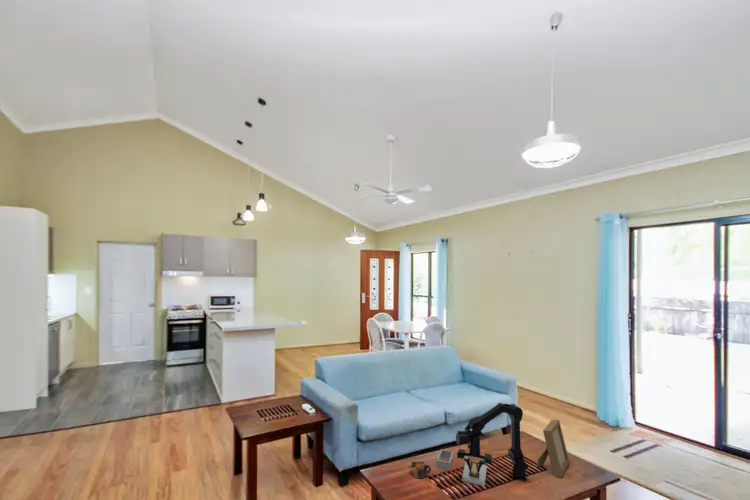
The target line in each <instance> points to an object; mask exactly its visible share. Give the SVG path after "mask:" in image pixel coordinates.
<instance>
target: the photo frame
mask: <svg viewBox="0 0 750 500" xmlns="http://www.w3.org/2000/svg"><path fill="white" fill-rule="evenodd" d="M542 432H543V437H544V440H545V445H546V447H545V449H544V450H543V452H542V453H541V455H540V456H539V457H538V459H537V462H536V467H537V468H540V467H543V466H544V465H545V462H546V461H547V459H548V457H549V462H550V465H551V469H552V473H553V477H557V478H558V477H559V478H563V475H564V474H565V472H566V471H567V468H568V466H569V465H570V459H569V454H568V450H567V447H566V443H565V439H564V434H563V429H562V427H561V422H560V419H551V420H550V422H548V424H547V425H546V427H545V428H544V429H543V430H542Z"/></svg>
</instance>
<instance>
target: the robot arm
mask: <svg viewBox="0 0 750 500" xmlns="http://www.w3.org/2000/svg"><path fill="white" fill-rule="evenodd" d="M503 413H505V414H508V416H509V419H510V430H511V431H510V433H511V437H510V438H511V446H510V448H507V456H508V458H509V459H510V460H511V462H512V464H513V466H512V476H513V477H512V478H513V479H514V480H520V481H527V477H526V475H527V474H526V471H527V470H528V469H529V465H528V464H527V463H526V461H525V458H524V453H523V451H522V449H521V422H522V419H523V413H524V411H523V409H522V408H520V406H518V405H517V404H514V403H510V404H508V403H502V402H498V403H497V404H496V405H495V406H494V407H492V408H491V409H489V410H488V411H485V412H484V413H483V414H482V415H479V416H475V417H472V418H470V419H469V420H468V423H467V424H466V426H465V427H464V430H457V433H456V434H455V441H456V444H457V445H467V449H469V450H468V452H466V450H465V449H463V448H458V449H457V451H456V452H457V453H456V456H457V457H456V458H457V459H463V461H465V463H467V465H468V467H469V470H470V472H471V464H470V462H471V458H473V459H477V460H478V459H479V461H478V464H479V467H478V473H479V471H480V468H481V466H482V465H486V464H489V465H491V464H493V455H492V454H490V453H484V454H481V437H484V436H485V434H484V433H483V432H482V430H484V428H485V426H486V425H487V424H488V423H490V422H491V421H493V420H494V419H495V418H497V417H498V416H501V415H502V414H503Z"/></svg>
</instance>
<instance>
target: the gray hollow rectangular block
mask: <svg viewBox="0 0 750 500" xmlns="http://www.w3.org/2000/svg"><path fill="white" fill-rule="evenodd" d="M442 458H448V459H449V460H448V461H446V460H442ZM453 460H454V451H452V450H448V449H447V450H446V449H440V451H439V454H438V456H437V460H436V468H437V469H444V470H448V471H449V470H451V466H452V464H453Z"/></svg>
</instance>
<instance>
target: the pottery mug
mask: <svg viewBox="0 0 750 500" xmlns="http://www.w3.org/2000/svg"><path fill="white" fill-rule="evenodd" d="M413 468H415V470H416V473H414V479H425V476H428V475H429V474H430V473H431V471H432V467H431V465H430V464H429V465H428V464H426V463H425V461H422V460H419V461H412V462H411V465H410V469H413Z"/></svg>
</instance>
